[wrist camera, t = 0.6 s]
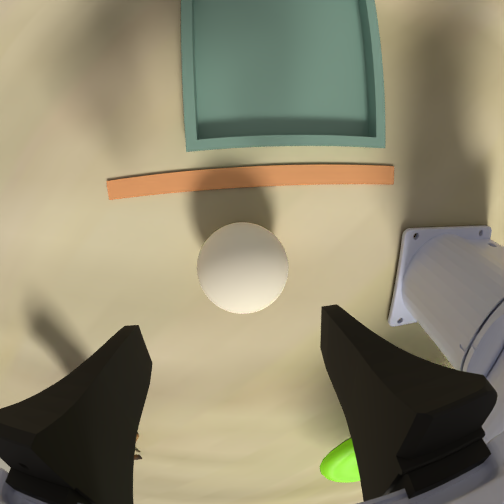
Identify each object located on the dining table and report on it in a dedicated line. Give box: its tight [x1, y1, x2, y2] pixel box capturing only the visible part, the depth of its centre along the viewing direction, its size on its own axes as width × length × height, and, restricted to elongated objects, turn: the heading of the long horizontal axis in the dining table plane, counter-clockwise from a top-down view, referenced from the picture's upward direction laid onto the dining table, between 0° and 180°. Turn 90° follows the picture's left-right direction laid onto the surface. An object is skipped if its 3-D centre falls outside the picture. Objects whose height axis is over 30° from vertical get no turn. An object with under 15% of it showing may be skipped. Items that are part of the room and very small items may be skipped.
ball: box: [197, 222, 288, 314], centre depth 17 cm, size 5×5×5 cm
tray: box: [181, 0, 385, 152], centre depth 14 cm, size 11×11×1 cm
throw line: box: [107, 164, 394, 200], centre depth 17 cm, size 18×1×1 cm, turn 93°
